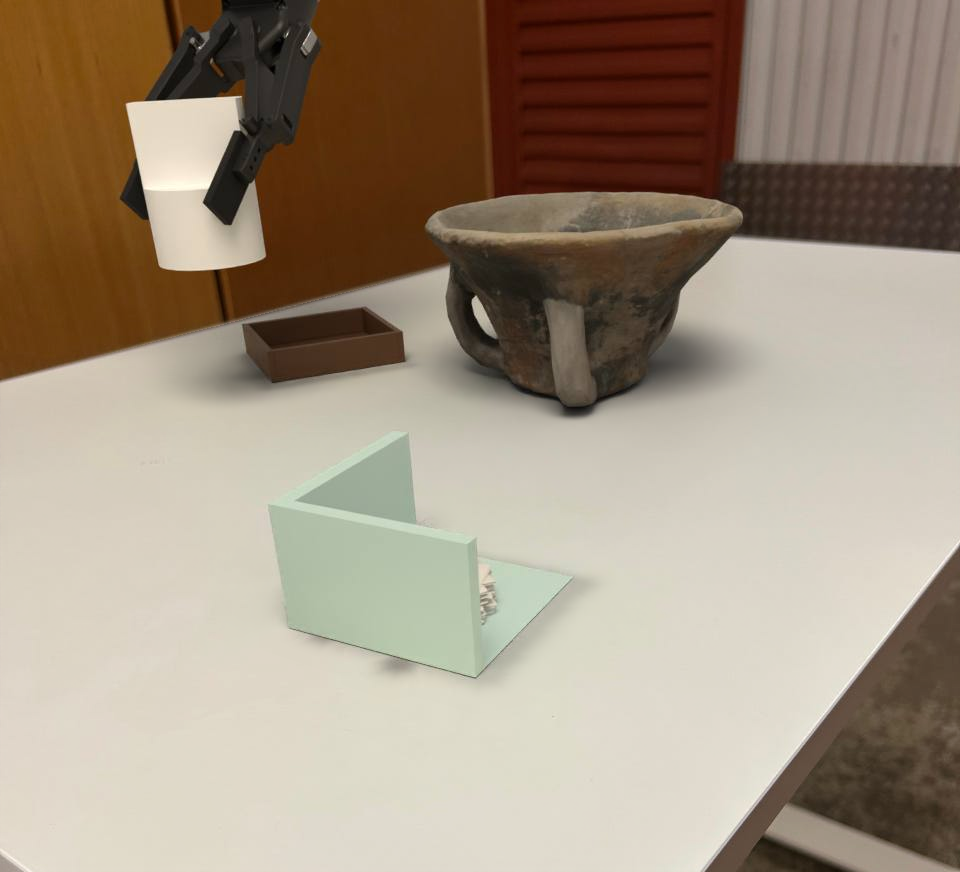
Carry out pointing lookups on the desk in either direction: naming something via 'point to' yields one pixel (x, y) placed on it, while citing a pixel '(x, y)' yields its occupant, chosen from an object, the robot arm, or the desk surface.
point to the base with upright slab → (192, 183)
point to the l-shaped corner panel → (396, 568)
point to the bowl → (575, 282)
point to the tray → (322, 343)
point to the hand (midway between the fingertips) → (174, 211)
